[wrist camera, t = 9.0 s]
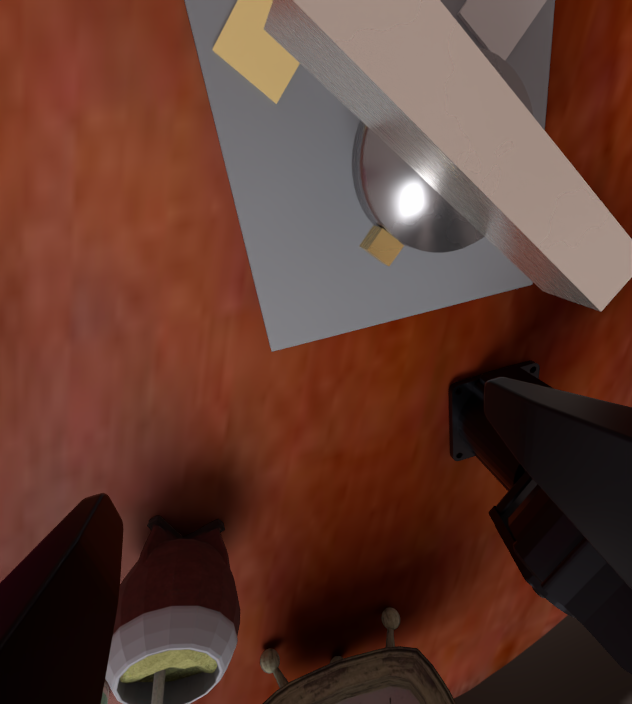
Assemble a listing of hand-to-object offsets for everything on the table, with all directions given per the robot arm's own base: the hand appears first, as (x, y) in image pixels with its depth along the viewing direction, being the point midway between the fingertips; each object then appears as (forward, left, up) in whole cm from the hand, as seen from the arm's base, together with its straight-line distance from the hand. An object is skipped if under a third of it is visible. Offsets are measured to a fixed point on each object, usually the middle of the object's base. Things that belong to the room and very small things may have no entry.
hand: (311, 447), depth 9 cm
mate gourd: (-16, +9, -13) cm, 23 cm away
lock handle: (+5, -8, -9) cm, 13 cm away
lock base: (+5, -8, -13) cm, 16 cm away
